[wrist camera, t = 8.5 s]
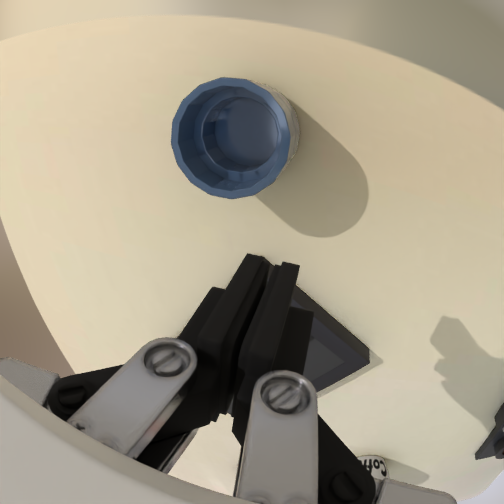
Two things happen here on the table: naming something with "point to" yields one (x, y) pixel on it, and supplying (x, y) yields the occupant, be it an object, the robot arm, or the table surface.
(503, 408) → the scale
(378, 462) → the cup
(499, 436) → the panel
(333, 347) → the picture frame
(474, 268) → the table surface
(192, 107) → the blue round container
